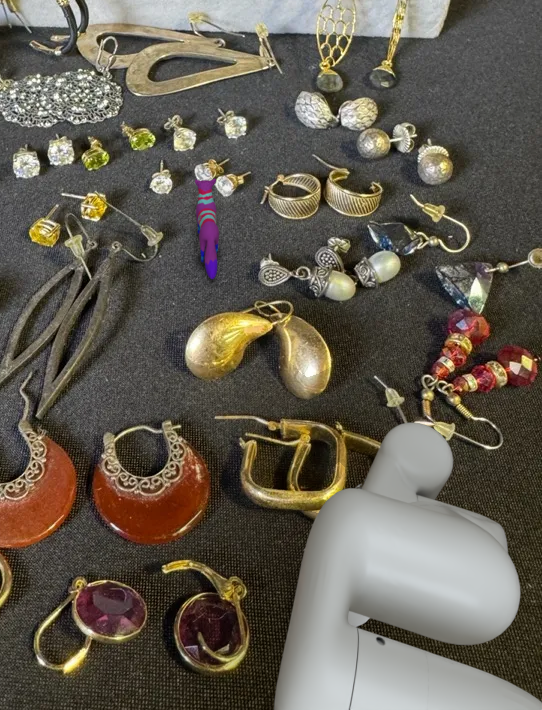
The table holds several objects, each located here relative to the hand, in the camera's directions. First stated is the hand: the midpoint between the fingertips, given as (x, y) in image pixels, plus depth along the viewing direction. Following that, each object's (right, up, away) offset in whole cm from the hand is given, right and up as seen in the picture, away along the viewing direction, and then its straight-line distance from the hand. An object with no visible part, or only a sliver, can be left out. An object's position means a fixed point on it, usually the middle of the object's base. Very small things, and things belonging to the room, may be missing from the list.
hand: (364, 552), depth 108 cm
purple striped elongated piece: (-19, +40, +36) cm, 58 cm away
